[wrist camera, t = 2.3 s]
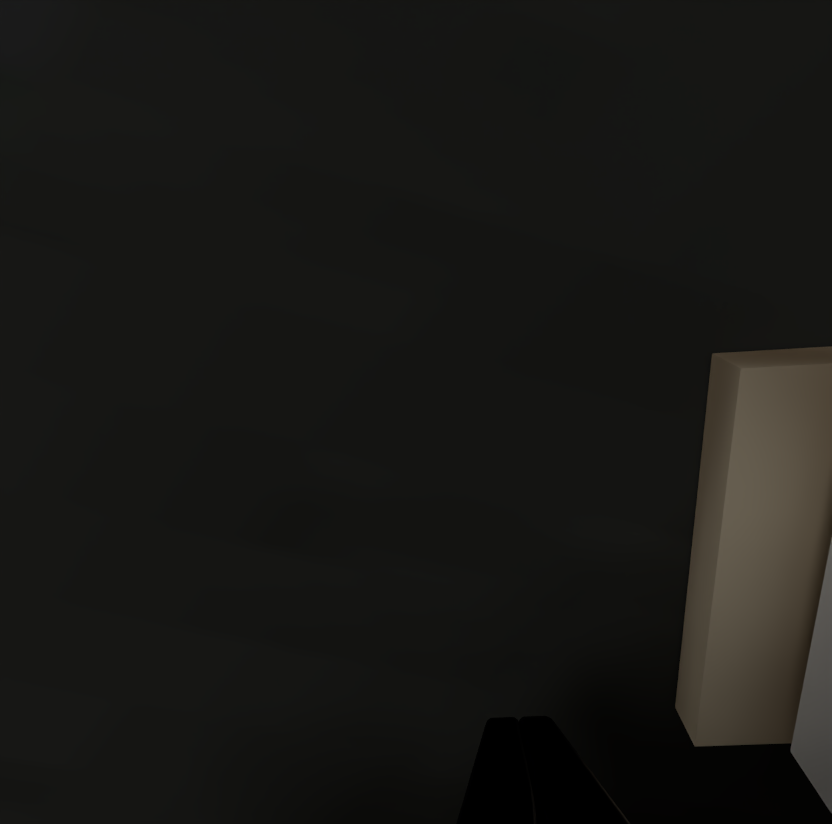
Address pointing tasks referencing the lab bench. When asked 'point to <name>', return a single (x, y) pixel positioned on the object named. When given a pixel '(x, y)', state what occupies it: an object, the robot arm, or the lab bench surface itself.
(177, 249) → the lab bench surface
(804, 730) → the cover
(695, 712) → the plate
